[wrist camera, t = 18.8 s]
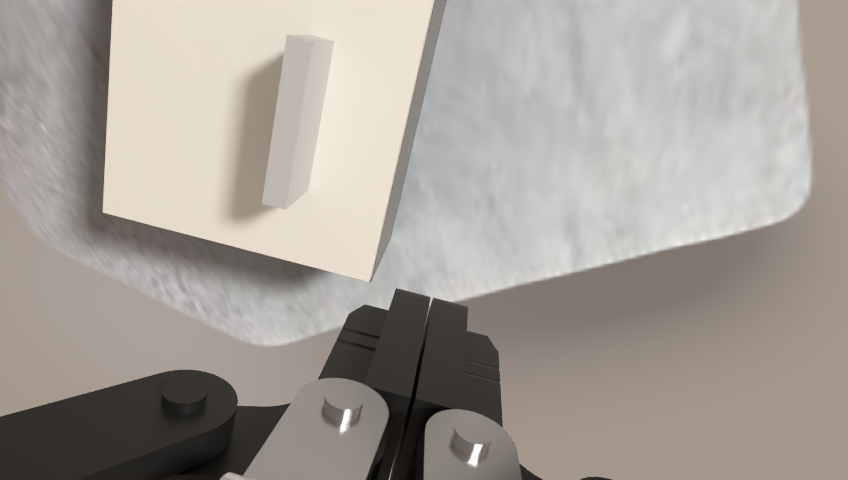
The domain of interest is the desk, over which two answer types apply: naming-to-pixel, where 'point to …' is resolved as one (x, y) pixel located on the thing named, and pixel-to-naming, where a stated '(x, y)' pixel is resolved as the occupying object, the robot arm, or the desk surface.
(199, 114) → the lid
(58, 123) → the desk surface
